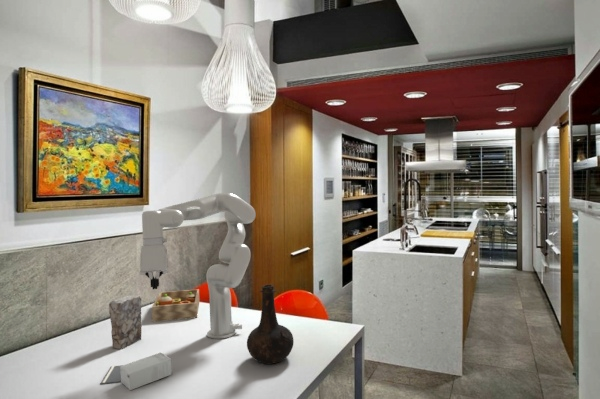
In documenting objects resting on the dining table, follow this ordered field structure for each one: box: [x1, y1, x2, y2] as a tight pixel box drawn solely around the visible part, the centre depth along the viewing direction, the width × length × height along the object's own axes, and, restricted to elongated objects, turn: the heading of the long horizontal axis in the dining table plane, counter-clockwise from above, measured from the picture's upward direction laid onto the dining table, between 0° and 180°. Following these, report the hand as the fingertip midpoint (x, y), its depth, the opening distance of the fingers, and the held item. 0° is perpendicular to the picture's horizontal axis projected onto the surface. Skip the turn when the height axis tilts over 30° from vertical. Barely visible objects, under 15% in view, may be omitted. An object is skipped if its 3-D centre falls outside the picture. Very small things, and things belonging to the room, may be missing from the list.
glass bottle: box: [246, 284, 295, 365], centre depth 156 cm, size 18×18×28 cm
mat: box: [100, 364, 124, 385], centre depth 148 cm, size 18×14×1 cm
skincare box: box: [119, 352, 172, 391], centre depth 142 cm, size 8×6×15 cm
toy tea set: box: [156, 292, 196, 306], centre depth 227 cm, size 26×16×10 cm, turn 171°
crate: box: [151, 288, 200, 323], centre depth 227 cm, size 22×32×8 cm
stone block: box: [108, 294, 143, 350], centre depth 178 cm, size 13×7×20 cm, turn 165°
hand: (155, 288), depth 162 cm, fingers closed
